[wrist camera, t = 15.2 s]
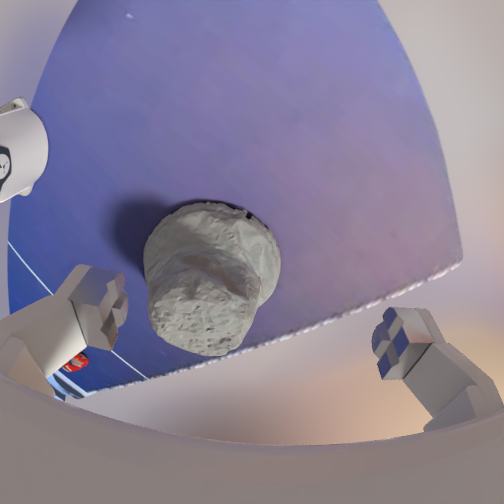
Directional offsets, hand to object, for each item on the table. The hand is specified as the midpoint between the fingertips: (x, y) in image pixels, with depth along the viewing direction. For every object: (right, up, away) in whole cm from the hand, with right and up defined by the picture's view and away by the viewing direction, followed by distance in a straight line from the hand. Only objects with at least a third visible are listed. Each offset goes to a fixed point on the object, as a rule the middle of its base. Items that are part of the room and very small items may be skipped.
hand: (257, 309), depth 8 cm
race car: (-51, -29, +60) cm, 84 cm away
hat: (-8, -1, +42) cm, 42 cm away
